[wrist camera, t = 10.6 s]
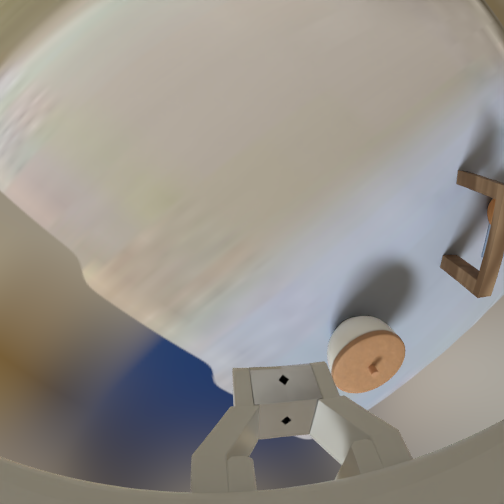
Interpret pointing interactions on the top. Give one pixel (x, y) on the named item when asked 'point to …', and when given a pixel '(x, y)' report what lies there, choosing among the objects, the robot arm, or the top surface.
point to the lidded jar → (364, 354)
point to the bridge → (498, 243)
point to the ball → (491, 210)
